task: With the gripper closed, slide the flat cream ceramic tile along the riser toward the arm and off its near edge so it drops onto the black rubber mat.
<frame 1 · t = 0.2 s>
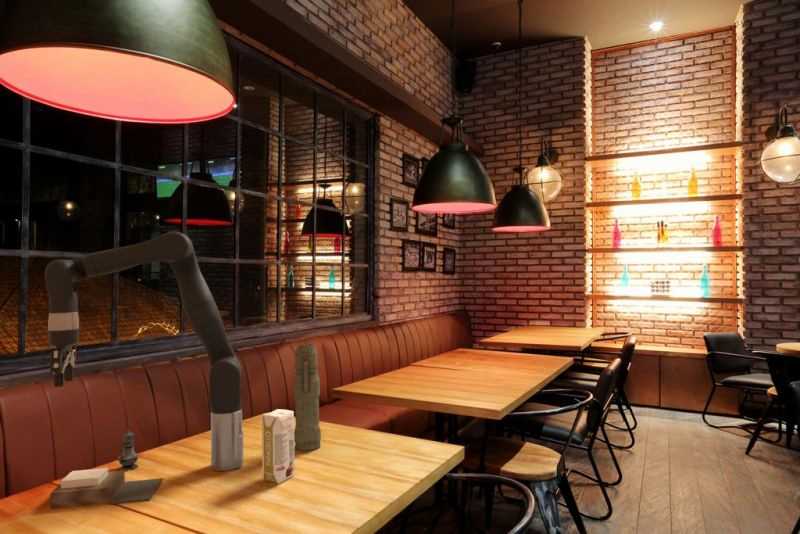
hand: (64, 383, 150), 28 cm above the table, tool pointing down, fingers open, 8 cm apart
juice carton: (278, 478, 150), on the table
thermos: (307, 447, 176), on the table
tile: (85, 481, 139), point 4 cm above the table, touching riser
mat: (137, 491, 142), on the table
salt shaker: (128, 468, 160), on the table
riser: (89, 496, 139), on the table
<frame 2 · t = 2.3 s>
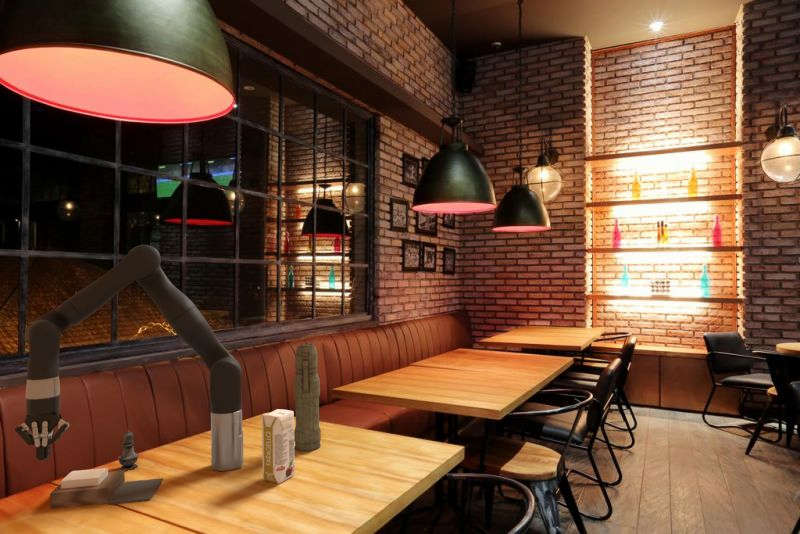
hand: (43, 459, 137), 11 cm above the table, tool pointing down, fingers closed
nothing on the table moved.
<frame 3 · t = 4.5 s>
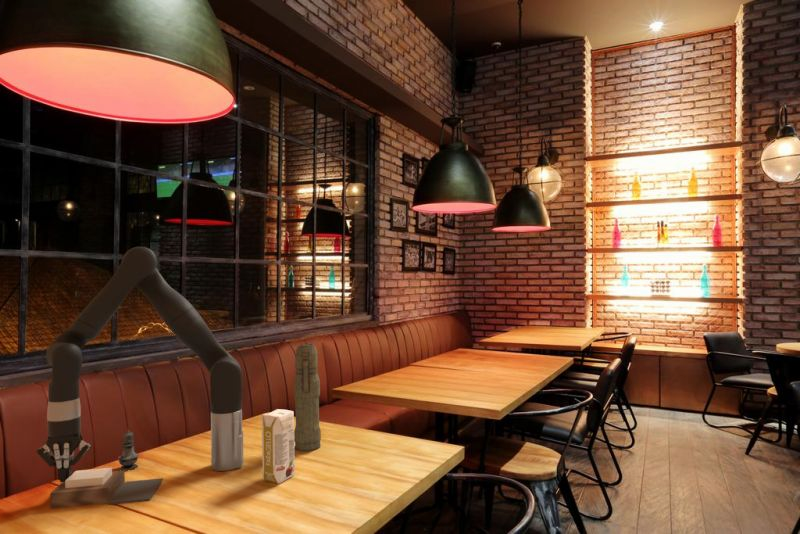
hand: (64, 480, 138), 5 cm above the table, tool pointing down, fingers closed
tile: (89, 481, 139), point 4 cm above the table, touching gripper, riser
everything else where it was.
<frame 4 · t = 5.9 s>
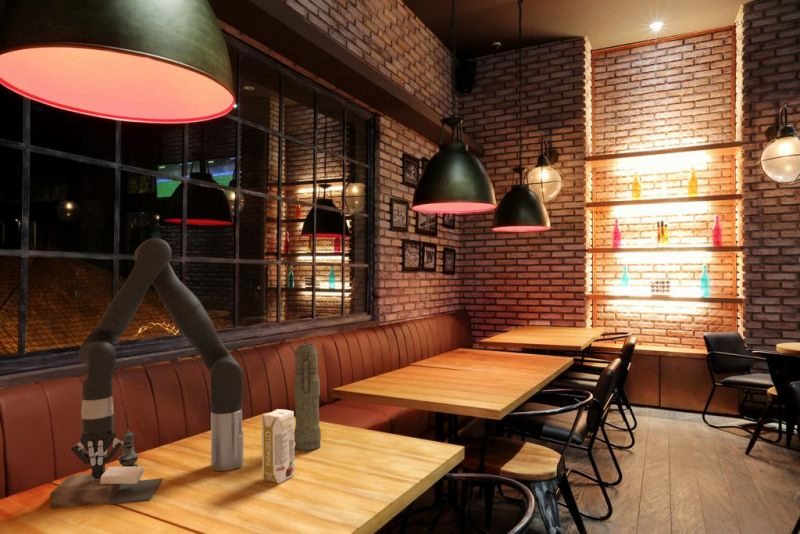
hand: (98, 477, 140), 5 cm above the table, tool pointing down, fingers closed
tile: (122, 478, 141), point 4 cm above the table, tilted 6°, touching gripper, riser
everything else where it was.
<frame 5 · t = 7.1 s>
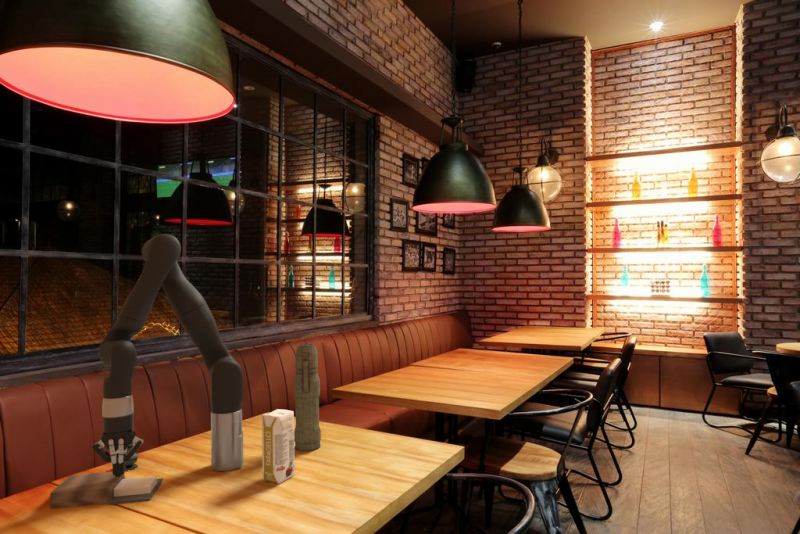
hand: (119, 475, 141), 5 cm above the table, tool pointing down, fingers closed
tile: (136, 489, 142), resting on mat
everything else where it was.
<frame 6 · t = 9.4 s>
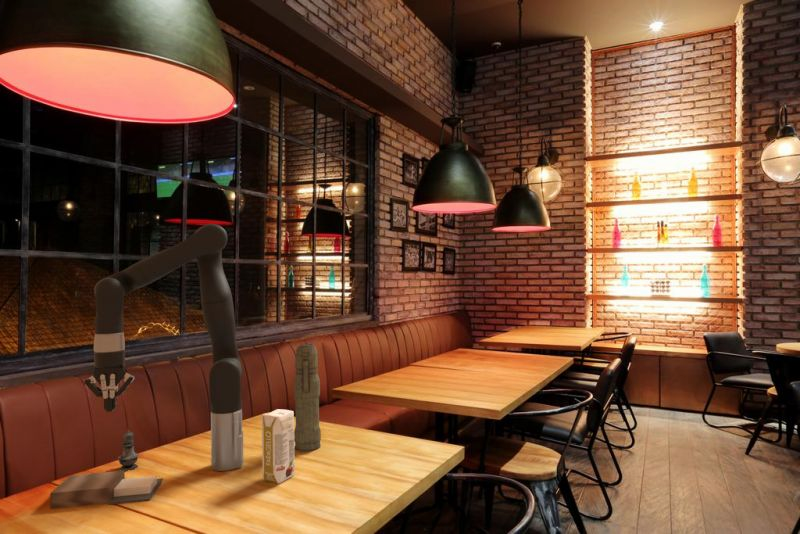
hand: (110, 411, 144), 22 cm above the table, tool pointing down, fingers closed
nothing on the table moved.
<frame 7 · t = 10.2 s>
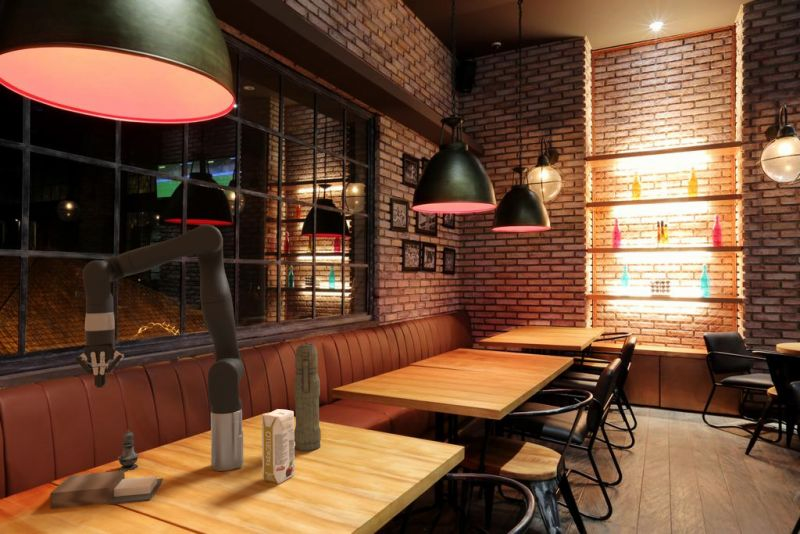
hand: (100, 387, 151), 27 cm above the table, tool pointing down, fingers closed
nothing on the table moved.
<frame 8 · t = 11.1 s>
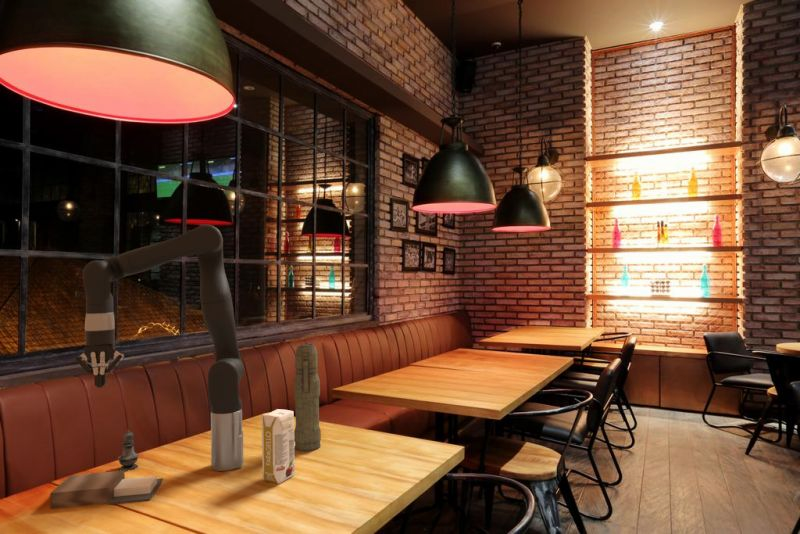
hand: (100, 387, 151), 27 cm above the table, tool pointing down, fingers closed
nothing on the table moved.
at the end: tile inside the target area (0.4 cm from its centre), point 0.5 cm above the table; tile moved 13.1 cm from its start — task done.
